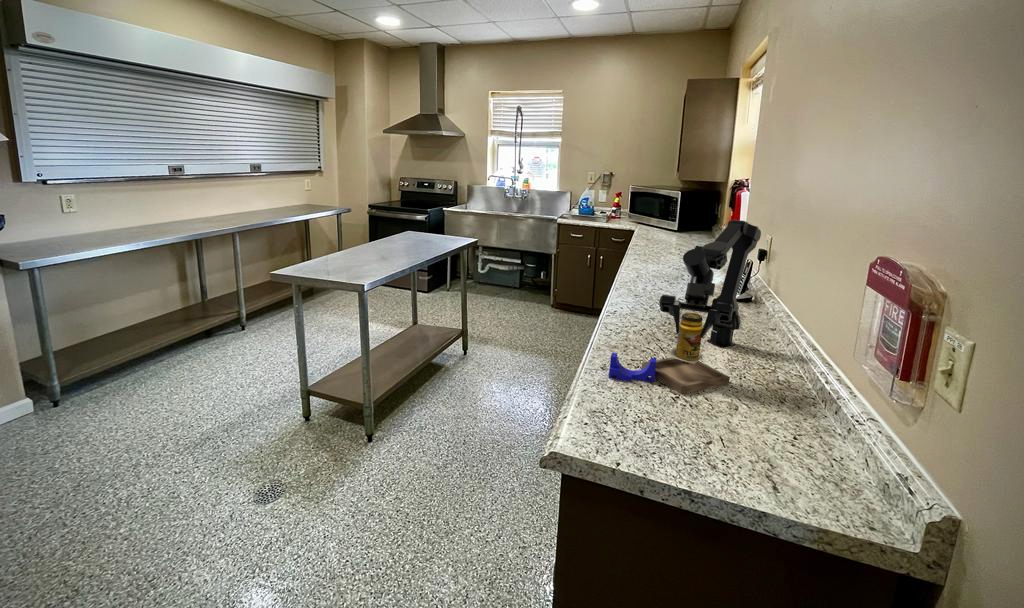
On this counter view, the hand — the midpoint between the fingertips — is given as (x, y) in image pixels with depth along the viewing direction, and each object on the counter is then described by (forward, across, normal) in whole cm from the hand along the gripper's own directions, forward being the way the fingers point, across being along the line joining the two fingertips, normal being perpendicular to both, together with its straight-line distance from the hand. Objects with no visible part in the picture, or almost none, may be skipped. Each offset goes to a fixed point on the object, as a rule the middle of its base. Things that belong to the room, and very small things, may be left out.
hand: (689, 335), depth 135 cm
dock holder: (+8, 0, +10) cm, 13 cm away
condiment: (+4, -1, +6) cm, 7 cm away
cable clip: (+14, -13, +4) cm, 20 cm away
